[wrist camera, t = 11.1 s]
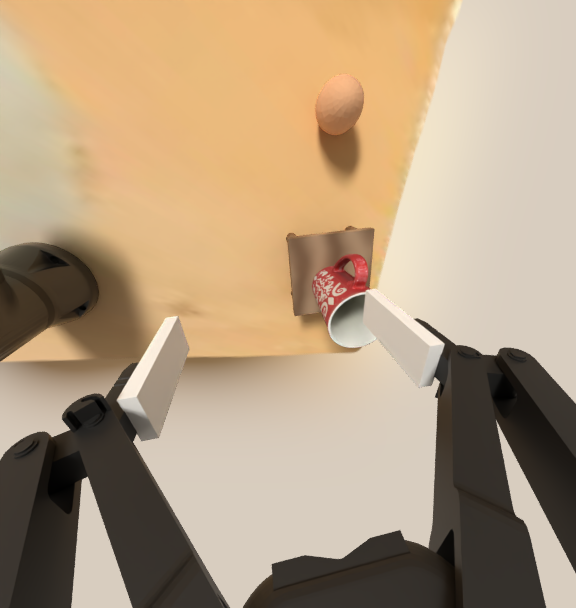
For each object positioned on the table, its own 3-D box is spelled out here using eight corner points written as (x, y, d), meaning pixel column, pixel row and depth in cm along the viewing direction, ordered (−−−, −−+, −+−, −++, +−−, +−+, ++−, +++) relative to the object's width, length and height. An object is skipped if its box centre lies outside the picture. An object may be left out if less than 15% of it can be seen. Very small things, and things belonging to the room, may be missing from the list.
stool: (289, 299, 52) (294, 316, 45) (283, 231, 45) (288, 239, 38) (353, 290, 53) (367, 305, 47) (356, 222, 46) (374, 228, 40)
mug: (349, 305, 46) (383, 347, 34) (305, 306, 45) (324, 350, 33) (361, 241, 40) (407, 264, 28) (311, 240, 39) (337, 264, 27)
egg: (353, 92, 37) (382, 66, 29) (344, 142, 40) (368, 131, 32) (313, 84, 36) (331, 54, 28) (307, 135, 39) (321, 122, 30)
